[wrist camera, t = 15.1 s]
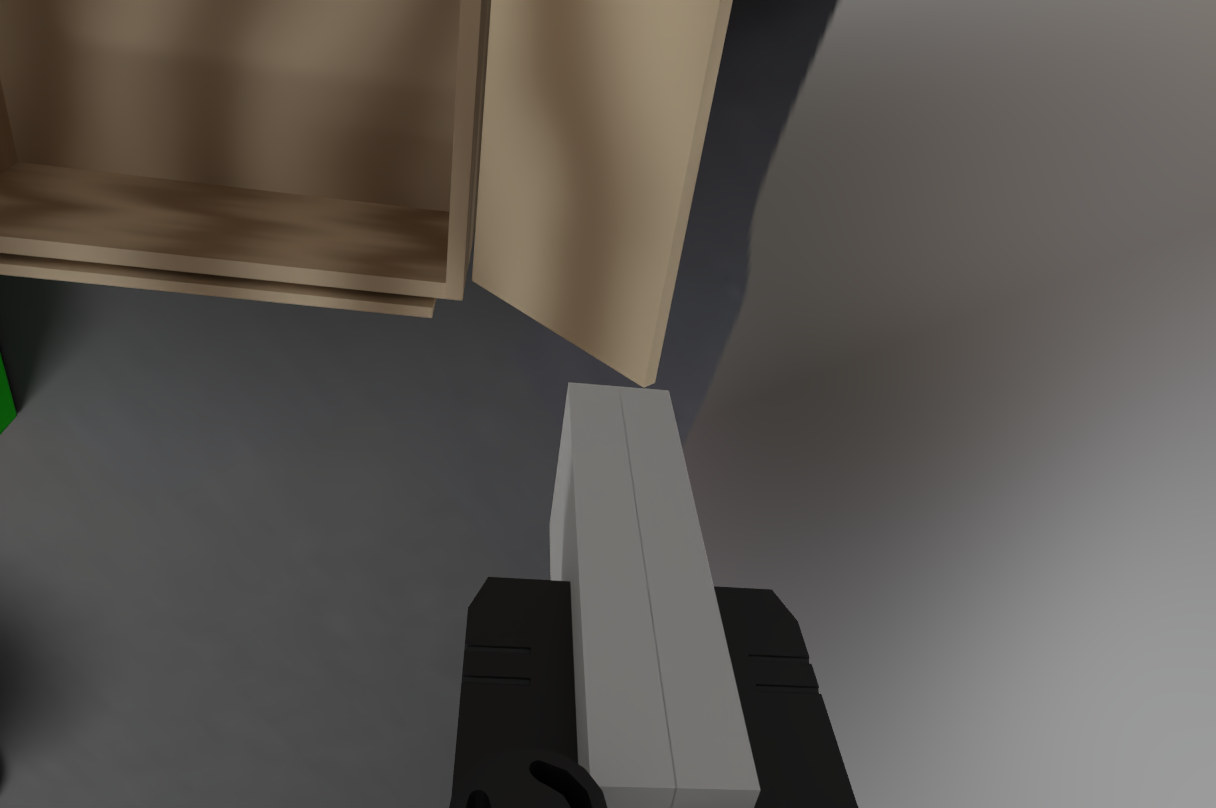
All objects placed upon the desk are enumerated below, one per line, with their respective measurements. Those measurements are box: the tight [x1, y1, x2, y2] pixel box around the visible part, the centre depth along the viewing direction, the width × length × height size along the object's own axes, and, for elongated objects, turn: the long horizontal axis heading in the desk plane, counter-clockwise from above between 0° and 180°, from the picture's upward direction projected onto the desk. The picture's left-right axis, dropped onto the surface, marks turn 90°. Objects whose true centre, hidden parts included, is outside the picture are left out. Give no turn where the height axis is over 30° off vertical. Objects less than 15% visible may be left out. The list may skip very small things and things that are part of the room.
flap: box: [472, 0, 733, 387], centre depth 24 cm, size 8×16×1 cm
